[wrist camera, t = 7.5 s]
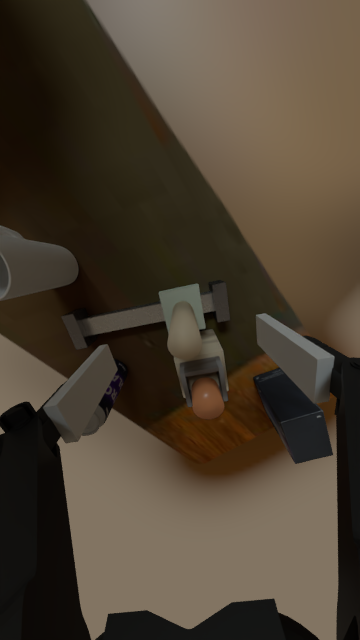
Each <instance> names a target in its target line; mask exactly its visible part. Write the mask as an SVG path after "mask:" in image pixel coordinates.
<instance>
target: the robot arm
mask: <svg viewBox="0 0 360 640" xmlns="http://www.w3.org/2000/svg"><path fill="white" fill-rule="evenodd" d="M256 327H257V344H258V345H259V346H260V347H261V348H262V349H263V350H264V351H265V352H266V353H267V354H268V355H269V357H270V358H271V359H272V360H273V361H274V362H275V363H276V364H277V365H278V366H279V367H280V368H281V369H282V370H283V371H284V372H285V374H286V375H287V376H288V377H289V378H290V379H291V380H292V381H293V382H294V383H295V384H296V385H297V386H298V387H299V388H300V389H301V391H302V392H303V393H304V394H305V395H306V396H307V397H308V398H309V399H310V400H311V401H312V402H313V403H314V404H315V403H321V402H327V401H329V396H330V392H331V393H332V394H333V395H334V396H335V397H336V398H337V402H336V409H335V415H336V417H337V418H336V419H337V420H336V424H337V425H336V426H337V502H338V577H339V578H338V579H339V580H338V582H339V583H338V584H339V585H338V602H337V640H360V358H348V357H347V356H345V355H343V354H341V353H340V352H338V351H336V350H335V349H333V348H331V347H328V345H326V344H324V343H322V342H321V341H319V340H317V339H315V338H312V337H309V336H301V335H299V334H297V333H296V332H294V331H293V330H291V329H289V328H288V327H286V326H285V325H283V324H281V323H280V322H278V321H277V320H275V319H273V318H272V317H270V316H268V315H267V314H265V313H264V314H259V315H256ZM117 370H118V369H117V366H116V364H115V361H114V359H113V356H112V354H111V351H110V349H109V346H108V344H105V345H100V346H99V347H98V348H97V349H96V350H95V351H94V352H93V353H92V354H91V355H90V356H89V358H88V359H87V360H86V361H85V362H84V363H83V364H82V365H81V366H80V367H79V368H78V370H77V371H76V372H75V373H74V374H73V375H72V376H71V377H70V378H69V379H68V380H67V381H66V382H65V383H64V384H62V385H61V386H60V387H59V388H58V389H57V391H56V392H55V393H54V394H53V395H52V396H51V397H50V398H49V399H48V400H47V401H46V402H45V403H44V404H43V405H42V407H41V408H40V409H39V410H38V411H37V412H36V411H35V410H34V408H33V407H32V405H31V404H30V403H29V402H23V403H20V404H18V405H15V406H14V407H12V408H10V409H9V410H7V411H6V412H4V413H3V414H2V415H1V416H0V427H1V428H2V429H3V430H4V432H5V433H4V434H1V435H0V640H91V638H90V634H89V631H88V628H87V625H86V623H85V620H84V618H83V615H82V611H81V607H80V601H79V593H78V585H77V577H76V570H75V562H74V555H73V547H72V540H71V532H70V525H69V517H68V509H67V501H66V494H65V486H64V479H63V471H62V463H61V456H60V448H59V446H58V444H57V441H58V440H59V438H60V437H62V438H63V440H64V442H65V443H70V442H77V441H78V440H79V439H80V437H81V435H82V433H83V432H84V430H85V428H86V426H87V424H88V422H89V421H90V419H91V417H92V415H93V413H94V412H95V410H96V408H97V406H98V404H99V403H100V401H101V399H102V397H103V395H104V393H105V392H106V390H107V388H108V386H109V384H110V383H111V381H112V379H113V377H114V375H115V373H116V372H117ZM95 640H319V639H318V638H317V637H316V636H315V635H314V634H312V633H311V632H310V631H309V630H307V629H306V628H305V627H303V626H302V625H301V624H299V623H298V622H296V621H294V620H293V619H291V618H289V617H288V616H285V615H283V614H281V613H278V611H277V607H276V603H275V600H274V599H265V600H254V601H243V602H233V603H230V604H229V605H227V606H226V607H224V608H223V609H221V610H220V611H218V612H217V613H215V614H214V615H212V616H211V617H209V618H208V619H206V620H205V621H203V622H202V623H200V624H199V625H197V626H196V627H194V628H192V629H185V628H183V627H181V626H179V625H176V624H174V623H172V622H170V621H168V620H166V619H164V618H162V617H160V616H158V615H156V614H153V613H151V612H149V611H147V610H146V611H135V612H124V613H114V614H108V617H107V622H106V627H105V632H104V633H102V634H101V635H100V636H99V637H98V638H96V639H95Z"/></svg>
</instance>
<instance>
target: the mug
mask: <svg viewBox="0 0 360 640" xmlns="http://www.w3.org/2000/svg"><path fill="white" fill-rule="evenodd" d="M78 271H79V268H78V263H77V261H76V259H75V257H74V256H73V254H72V253H71V252H70V251H69V250H67V249H66V248H64V247H62V246H58V245H53V244H49V243H43V242H37V241H31V240H26V239H24V238H23V237H22V236H21V235H20V234H19V233H18V232H16V231H14V230H11V229H8V228H6V227H3V226H1V225H0V301H1V300H6V299H11V298H15V297H19V296H23V295H28V294H32V293H36V292H40V291H45V290H49V289H53V288H58V287H62V286H65V285H69V284H71V283H72V282H74V281H75V280H76V278H77V276H78Z"/></svg>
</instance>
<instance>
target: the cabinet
mask: <svg viewBox="0 0 360 640" xmlns="http://www.w3.org/2000/svg"><path fill="white" fill-rule="evenodd" d="M200 335H201V339H202V348H201V351H200V352H199V354H198V355H196V356H195V357H193V358H191V359H186V360H183V359H178V358H176V357H174V362H175V366H176V370H177V374H178V378H179V382H180V385H181V389H182V393H183V397H184V398H186V401H187V405H188V407H192V406H193V404H192V392H191V387H192V384H193V383H194V382H195V381H196V380H197V379H200V378H204V377H208V378H212V379H214V380H215V381H216V382H217V384H218V386H219V389H220V393H221V396H222V399H223V401H228V396H227V391H229V388H228V381H227V374H226V367H225V360H224V353H223V349H222V347H221V345H220V343H219V341H218V339H217V337H216V335H215V333H214V331H213V329H210V330H205V331H200Z"/></svg>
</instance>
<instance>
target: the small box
mask: <svg viewBox="0 0 360 640" xmlns="http://www.w3.org/2000/svg"><path fill="white" fill-rule="evenodd" d="M253 378H254V381H255V384H256V386H257V389H258V392H259V395H260V397H261V400H262V403H263V405H264V408H265V410H266V413H267V415H268V417H269V418H270V420H271V422H272V424H273V426H274V427H275V429H276V431H277V433H278V434H279V436H280V438H281V439H282V442H283V443H284V445H285V447H286V448H287V450H288V452H289V454H290V455H291V457H292V459H293V461H294V462H295V464H297V463H302V462H306V461H309V460H313V459H317V458H322V457H326V456H331V455H333V453H332V448H331V444H330V439H329V435H328V431H327V426H326V422H325V418H324V414H323V410H322V409H321V408H320V407H319V406H318V405H317V404H316V403H315V404H314V403H313V402H312V401H311V400H310V399H309V398H308V397H307V396H306V395H305V394H304V393H303V392H302V391H301V389H300V388H299V387H298V386H297V385H296V384H295V383H294V382H293V381H292V380H291V379H290V378H289V377H288V376H287V375H286V374H285V372H284V371H283V370H282V369H281V368H278V369H275V370H272V371H269V372H266V373H264V374H260V375H258V376H255V377H253Z"/></svg>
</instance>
